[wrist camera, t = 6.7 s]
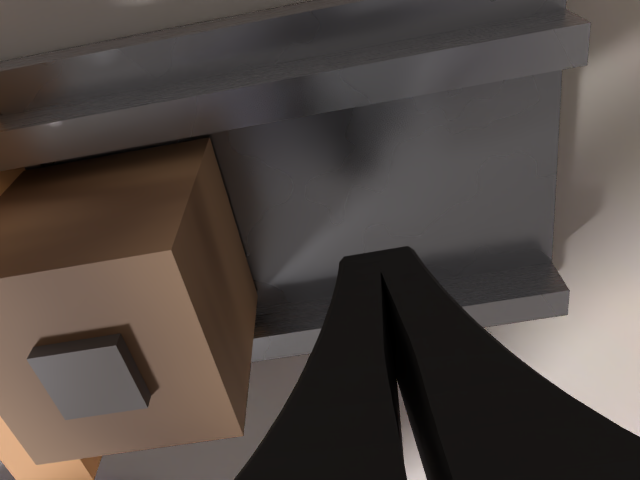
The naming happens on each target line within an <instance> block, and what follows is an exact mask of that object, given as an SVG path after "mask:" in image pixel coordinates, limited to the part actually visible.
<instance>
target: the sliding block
mask: <svg viewBox="0 0 640 480" xmlns="http://www.w3.org/2000/svg"><path fill="white" fill-rule="evenodd" d="M257 299H258V295H257V291H256V288H255V285H254V282H253V278H252V275H251V272H250V269H249V265H248V262H247V259H246V255H245V252H244V249H243V246H242V242H241V239H240V236H239V232H238V229H237V226H236V223H235V219H234V216H233V213H232V209H231V206H230V203H229V200H228V196H227V193H226V190H225V186H224V183H223V180H222V177H221V173H220V170H219V167H218V163H217V160H216V157H215V154H214V150H213V147H212V144H211V140H210V137H208V138H203V139H197V140H192V141H186V142H181V143H175V144H170V145H164V146H159V147H153V148H147V149H142V150H136V151H131V152H125V153H120V154H114V155H109V156H103V157H98V158H92V159H86V160H81V161H75V162H70V163H64V164H59V165H53V166H48V167H42V168H36V169H31V170H25V171H23V172H22V173H21V174H20V175H19V176H18V177H17V178H16V179H15V180H14V182H13V183H12V184H11V185H10V186H9V187H8V188H7V189H6V190H5V191H4V192H3V194H2V195H1V196H0V416H1V418H2V419H3V420H4V422H5V423H6V425H7V426H8V427H9V429H10V430H11V431H12V433H13V434H14V435H15V437H16V438H17V440H18V441H19V442H20V444H21V445H22V446H23V448H24V449H25V451H26V452H27V453H28V455H29V456H30V457H31V459H32V460H33V462H34V463H35V464H36V465H40V464H48V463H55V462H62V461H69V460H76V459H83V458H90V457H97V456H105V455H112V454H119V453H126V452H133V451H140V450H147V449H155V448H162V447H169V446H176V445H183V444H190V443H197V442H204V441H212V440H219V439H226V438H233V437H240V436H244V426H245V416H246V406H247V397H248V387H249V377H250V367H251V357H252V348H253V338H254V328H255V318H256V308H257Z"/></svg>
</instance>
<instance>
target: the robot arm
mask: <svg viewBox="0 0 640 480" xmlns="http://www.w3.org/2000/svg"><path fill="white" fill-rule="evenodd" d="M397 381H398V384H399V388H400V391H401V395H402V398H403V401H404V405H405V408H406V411H407V415H408V418H409V421H410V425H411V428H412V431H413V435H414V438H415V441H416V444H417V448H418V451H419V454H420V458H421V461H422V464H423V468H424V471H425V474H426V478H427V480H640V437H639V436H637V435H635V434H633V433H631V432H630V431H628V430H626V429H624V428H622V427H620V426H619V425H617V424H616V423H614V422H612V421H611V420H609V419H607V418H606V417H604V416H603V415H601V414H599V413H598V412H596V411H594V410H593V409H591V408H590V407H588V406H586V405H585V404H583V403H581V402H580V401H578V400H577V399H575V398H573V397H572V396H570V395H569V394H567V393H566V392H564V391H563V390H561V389H560V388H559V387H557V386H556V385H554V384H553V383H551V382H550V381H549V380H547V379H546V378H544V377H543V376H541V375H540V374H539V373H537V372H536V371H535V370H533V369H532V368H531V367H530V366H528V365H527V364H526V363H524V362H523V361H522V360H520V359H519V358H518V357H517V356H515V355H514V354H513V353H512V352H510V351H509V350H508V349H507V348H506V347H504V346H503V345H502V344H501V343H500V342H499V341H497V340H496V339H495V338H494V337H493V336H492V335H491V334H490V333H488V332H487V331H486V330H485V329H484V328H483V327H482V326H481V325H480V324H479V323H477V322H476V321H475V320H474V319H473V318H472V317H471V316H470V315H469V314H468V313H467V312H466V311H465V310H464V309H463V308H462V307H461V306H460V305H459V304H458V303H457V301H456V300H455V299H454V298H453V297H452V296H451V295H450V294H449V293H448V292H447V291H446V290H445V289H444V288H443V287H442V285H441V284H440V283H439V282H438V281H437V280H436V278H435V277H434V276H433V275H432V274H431V272H430V271H429V270H428V269H427V267H426V266H425V265H424V263H423V262H422V261H421V259H420V258H419V256H418V255H417V253H416V252H415V250H413V249H412V248H411V247H409V246H404V247H398V248H392V249H386V250H380V251H374V252H368V253H362V254H356V255H350V256H344V257H343V258H342V259H341V261H340V262H339V269H338V275H337V280H336V285H335V289H334V292H333V296H332V299H331V303H330V306H329V308H328V311H327V314H326V317H325V320H324V323H323V326H322V328H321V331H320V334H319V336H318V338H317V341H316V343H315V345H314V347H313V350H312V352H311V354H310V357H309V359H308V361H307V363H306V366H305V368H304V370H303V372H302V374H301V376H300V378H299V380H298V382H297V384H296V386H295V387H294V389H293V391H292V393H291V395H290V396H289V398H288V400H287V402H286V404H285V405H284V407H283V409H282V411H281V412H280V414H279V415H278V417H277V419H276V420H275V422H274V423H273V425H272V426H271V428H270V430H269V431H268V433H267V434H266V436H265V437H264V439H263V441H262V442H261V444H260V445H259V446H258V448H257V449H256V451H255V452H254V454H253V455H252V457H251V458H250V459H249V461H248V462H247V463H246V465H245V466H244V467H243V469H242V470H241V471H240V472H239V474H238V475H237V476H236V478H235V479H234V480H407V477H406V471H405V466H404V457H403V446H402V434H401V422H400V411H399V399H398V387H397Z"/></svg>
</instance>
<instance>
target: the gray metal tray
mask: <svg viewBox="0 0 640 480" xmlns="http://www.w3.org/2000/svg"><path fill="white" fill-rule="evenodd" d="M590 25H591V22H589V21H587V20H585V19H583V18H581V17H580V16H578V15H576V14H574V13H572V12H570V11H568V10H566V0H313V1H308V2H303V3H298V4H293V5H288V6H283V7H278V8H272V9H267V10H262V11H257V12H252V13H247V14H242V15H237V16H232V17H226V18H221V19H216V20H211V21H206V22H201V23H196V24H191V25H186V26H180V27H175V28H170V29H165V30H160V31H155V32H150V33H145V34H140V35H134V36H129V37H124V38H119V39H114V40H109V41H104V42H99V43H94V44H88V45H83V46H78V47H73V48H68V49H63V50H58V51H53V52H48V53H42V54H37V55H32V56H27V57H22V58H17V59H12V60H7V61H2V62H0V171H5V170H10V169H16V168H21V167H24V168H25V170H31V169H36V168H42V167H48V166H53V165H59V164H64V163H70V162H75V161H81V160H86V159H92V158H98V157H103V156H109V155H114V154H120V153H125V152H131V151H136V150H142V149H147V148H153V147H159V146H164V145H170V144H175V143H181V142H186V141H192V140H197V139H203V138H208V137H210V140H211V144H212V147H213V150H214V154H215V157H216V160H217V163H218V167H219V170H220V173H221V177H222V180H223V183H224V186H225V190H226V193H227V196H228V200H229V203H230V206H231V209H232V213H233V216H234V219H235V223H236V226H237V229H238V232H239V236H240V239H241V242H242V246H243V249H244V252H245V255H246V259H247V262H248V265H249V269H250V272H251V275H252V278H253V282H254V285H255V288H256V291H257V295H258V299H257V308H256V318H255V328H254V338H253V348H252V357H251V362H256V361H263V360H270V359H276V358H283V357H290V356H296V355H303V354H310V353H311V352H312V350H313V347H314V345H315V343H316V341H317V338H318V336H319V334H320V331H321V328H322V326H323V323H324V320H325V317H326V314H327V311H328V308H329V306H330V303H331V299H332V296H333V292H334V289H335V285H336V280H337V275H338V269H339V262H340V261H341V259H342V258H343V257H344V256H350V255H356V254H362V253H368V252H374V251H380V250H386V249H392V248H398V247H404V246H409V247H411V248H412V249H413V250H415V252H416V253H417V255H418V256H419V258H420V259H421V261H422V262H423V263H424V265H425V266H426V267H427V269H428V270H429V271H430V272H431V274H432V275H433V276H434V277H435V278H436V280H437V281H438V282H439V283H440V284H441V285H442V287H443V288H444V289H445V290H446V291H447V292H448V293H449V294H450V295H451V296H452V297H453V298H454V299H455V300H456V301H457V303H458V304H459V305H460V306H461V307H462V308H463V309H464V310H465V311H466V312H467V313H468V314H469V315H470V316H471V317H472V318H473V319H474V320H475V321H476V322H477V323H479V324H480V325H481V326H482V327H490V326H497V325H503V324H510V323H517V322H523V321H530V320H537V319H543V318H550V317H557V316H563V315H568V304H569V292H570V290H569V289H568V287H567V285H566V284H565V282H564V281H563V279H562V278H561V276H560V274H559V273H558V271H557V270H556V268H555V267H554V265H553V263H552V247H553V229H554V211H555V193H556V174H557V156H558V138H559V120H560V102H561V83H562V70H563V69H569V68H574V67H580V66H586V65H587V63H588V51H589V38H590Z"/></svg>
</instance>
